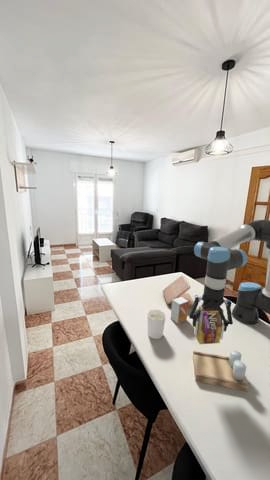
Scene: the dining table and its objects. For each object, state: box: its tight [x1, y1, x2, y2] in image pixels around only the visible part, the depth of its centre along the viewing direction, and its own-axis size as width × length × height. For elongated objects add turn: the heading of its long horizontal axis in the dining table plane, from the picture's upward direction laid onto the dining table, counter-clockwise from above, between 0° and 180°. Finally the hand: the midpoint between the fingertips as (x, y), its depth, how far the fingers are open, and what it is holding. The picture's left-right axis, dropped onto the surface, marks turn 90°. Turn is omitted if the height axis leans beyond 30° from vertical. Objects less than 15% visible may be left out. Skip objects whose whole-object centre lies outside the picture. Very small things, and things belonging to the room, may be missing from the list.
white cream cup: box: [147, 309, 167, 340], centre depth 106 cm, size 10×10×12 cm
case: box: [162, 275, 194, 308], centre depth 143 cm, size 20×21×16 cm
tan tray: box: [192, 350, 250, 392], centre depth 85 cm, size 20×13×3 cm, turn 79°
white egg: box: [228, 349, 242, 368], centre depth 86 cm, size 4×4×6 cm
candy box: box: [195, 305, 224, 345], centre depth 81 cm, size 9×4×15 cm, turn 96°
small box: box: [170, 297, 189, 325], centre depth 120 cm, size 8×6×13 cm
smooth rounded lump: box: [232, 360, 247, 382], centre depth 80 cm, size 4×4×6 cm
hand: (207, 334), depth 82 cm, fingers closed on candy box, 9 cm apart
